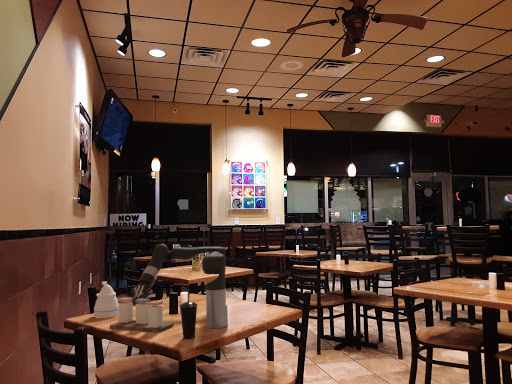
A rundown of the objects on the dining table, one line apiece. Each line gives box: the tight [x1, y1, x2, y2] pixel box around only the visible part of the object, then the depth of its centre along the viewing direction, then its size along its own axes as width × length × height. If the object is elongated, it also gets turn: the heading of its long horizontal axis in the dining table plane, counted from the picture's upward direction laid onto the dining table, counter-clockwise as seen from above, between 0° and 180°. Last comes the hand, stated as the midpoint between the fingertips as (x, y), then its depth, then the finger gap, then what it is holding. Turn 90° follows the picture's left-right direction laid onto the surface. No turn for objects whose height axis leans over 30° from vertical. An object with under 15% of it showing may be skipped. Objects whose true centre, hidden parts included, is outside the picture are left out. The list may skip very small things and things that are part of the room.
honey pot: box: [93, 281, 119, 319], centre depth 222 cm, size 13×13×18 cm
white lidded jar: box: [135, 298, 151, 324], centre depth 195 cm, size 5×4×11 cm
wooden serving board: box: [109, 319, 174, 333], centre depth 194 cm, size 28×11×2 cm, turn 68°
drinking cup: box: [179, 289, 198, 340], centre depth 175 cm, size 8×8×20 cm
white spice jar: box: [117, 297, 134, 323], centre depth 199 cm, size 5×4×11 cm
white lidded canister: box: [147, 300, 164, 328], centre depth 188 cm, size 5×4×11 cm
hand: (134, 305), depth 206 cm, fingers closed
